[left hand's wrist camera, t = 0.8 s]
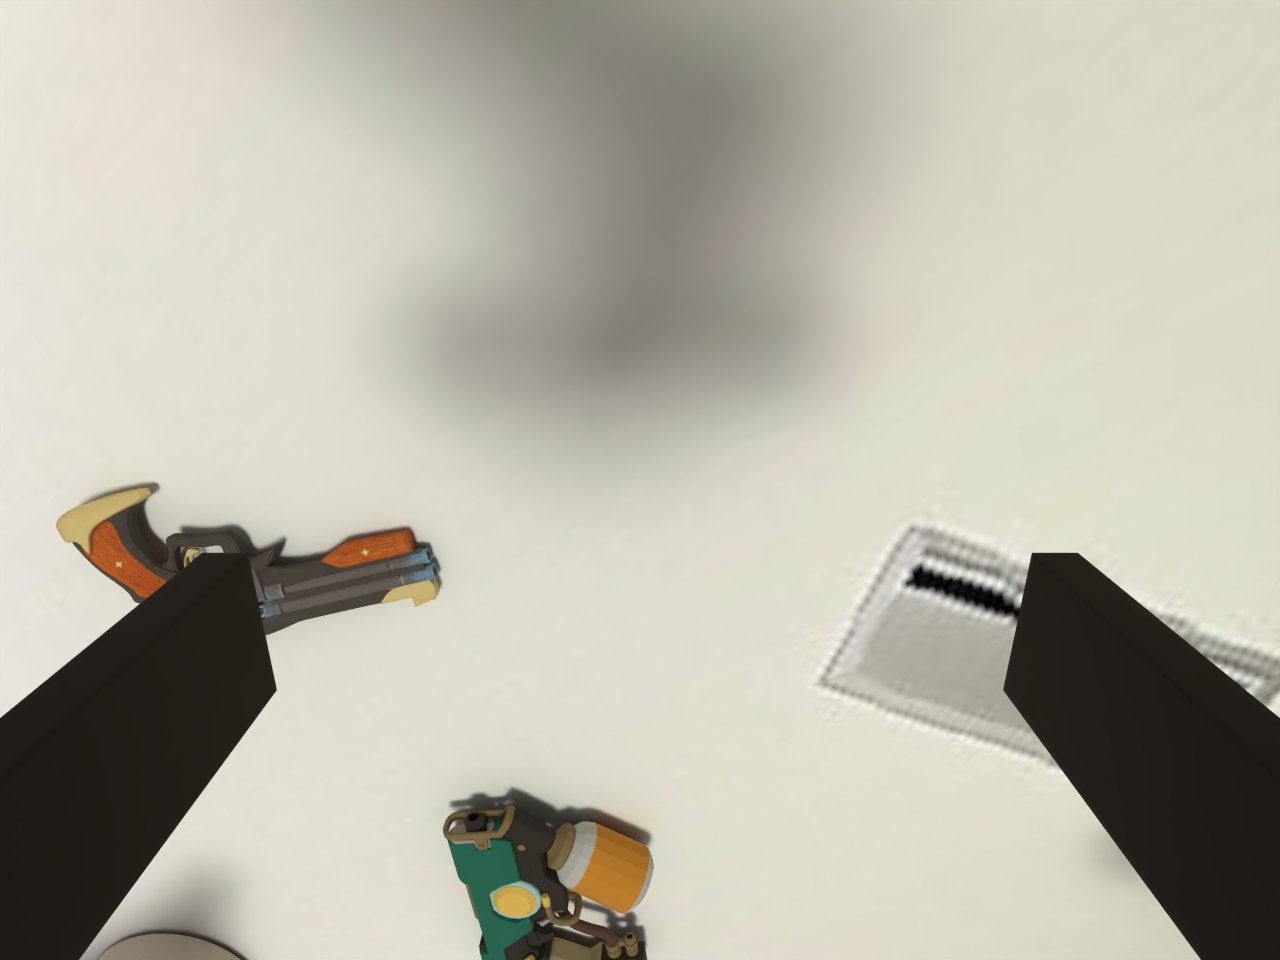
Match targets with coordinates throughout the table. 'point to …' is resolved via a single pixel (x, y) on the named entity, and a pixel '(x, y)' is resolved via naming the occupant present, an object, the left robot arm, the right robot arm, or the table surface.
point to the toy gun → (254, 564)
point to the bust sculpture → (166, 949)
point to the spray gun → (546, 883)
